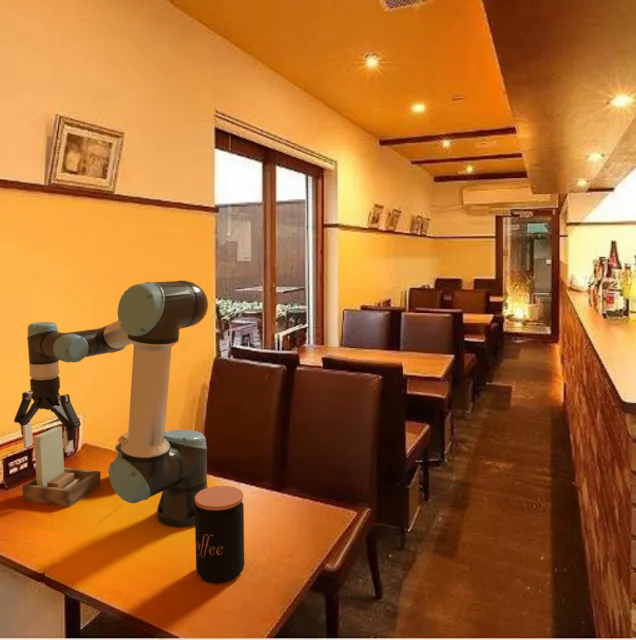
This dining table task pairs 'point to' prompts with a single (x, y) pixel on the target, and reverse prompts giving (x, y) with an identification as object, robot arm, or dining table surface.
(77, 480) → the offcut bottom
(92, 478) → the tray
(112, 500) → the dining table surface
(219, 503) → the coffee jar
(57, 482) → the offcut top
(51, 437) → the panel
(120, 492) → the robot arm
